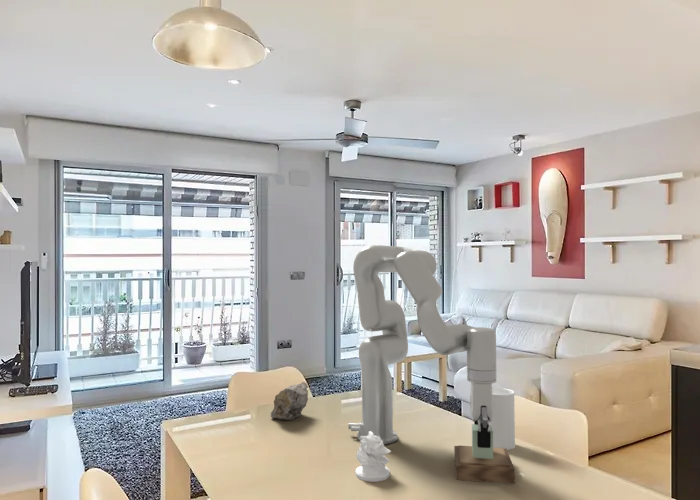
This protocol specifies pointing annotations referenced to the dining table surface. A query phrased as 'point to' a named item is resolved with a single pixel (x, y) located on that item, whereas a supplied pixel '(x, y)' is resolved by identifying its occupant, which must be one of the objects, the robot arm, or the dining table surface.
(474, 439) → the block
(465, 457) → the plinth
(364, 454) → the figurine
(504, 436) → the cup
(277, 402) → the rock
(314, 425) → the dining table surface
